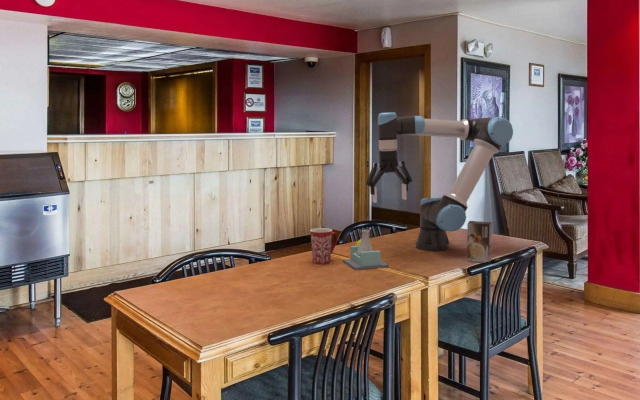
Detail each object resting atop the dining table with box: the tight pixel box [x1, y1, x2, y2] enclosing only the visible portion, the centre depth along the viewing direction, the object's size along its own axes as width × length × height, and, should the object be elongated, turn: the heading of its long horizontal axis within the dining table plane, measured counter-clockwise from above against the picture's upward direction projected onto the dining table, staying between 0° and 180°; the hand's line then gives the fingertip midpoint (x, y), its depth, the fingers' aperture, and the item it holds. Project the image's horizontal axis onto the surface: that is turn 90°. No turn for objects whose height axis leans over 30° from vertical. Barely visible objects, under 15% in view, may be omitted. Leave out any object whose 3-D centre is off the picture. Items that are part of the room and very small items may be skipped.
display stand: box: [342, 245, 389, 271], centre depth 225 cm, size 14×14×6 cm
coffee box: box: [466, 220, 493, 264], centre depth 230 cm, size 9×6×16 cm
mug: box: [309, 227, 338, 265], centre depth 230 cm, size 13×9×14 cm
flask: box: [356, 229, 374, 256], centre depth 224 cm, size 7×7×10 cm
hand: (389, 200), depth 235 cm, fingers open, 13 cm apart
